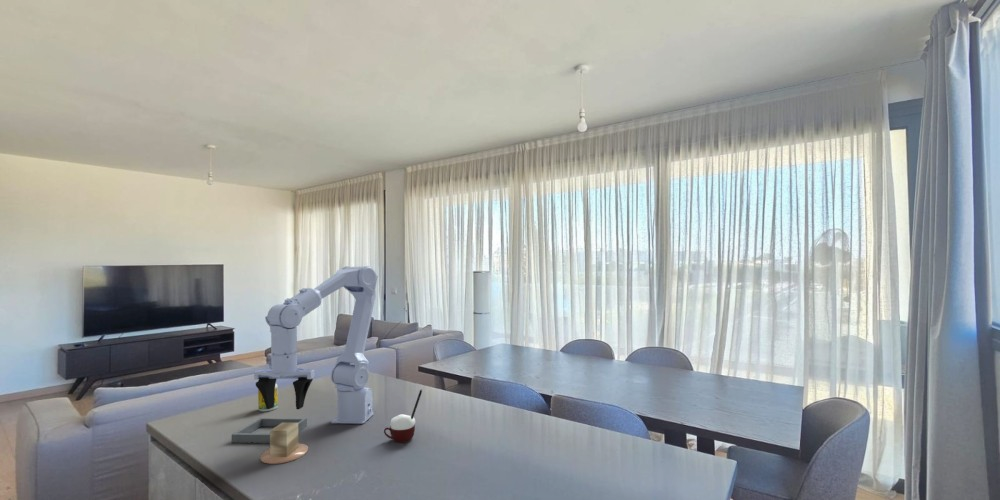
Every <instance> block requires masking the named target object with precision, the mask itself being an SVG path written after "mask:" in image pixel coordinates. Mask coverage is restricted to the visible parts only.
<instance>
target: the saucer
mask: <svg viewBox="0 0 1000 500" xmlns="http://www.w3.org/2000/svg"><path fill="white" fill-rule="evenodd" d="M308 450H309V447H308V446H307V445H306V444H304V443H299V442H298V448H297V449H296V450H295V451H294V452H292V453H291V454H290V455H289V456H288V457H270V448H269V449H266V450H265V451H264V452H262V453H261V455H260V461H261V462H262V463H263V462H264V463H263V464H266V463H267V464H266V465H279V464H280V465H281V464H285V463H290V462H293V461H296V460H298V459H300V458H302V457H304V456H306V455H307V453H308V452H309V451H308Z"/></svg>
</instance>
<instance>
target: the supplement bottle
mask: <svg viewBox="0 0 1000 500" xmlns="http://www.w3.org/2000/svg"><path fill="white" fill-rule="evenodd" d="M278 388H279V386H278V384H277V383H276V384H275V391H274V407H272V408H270V409H266V405H265V402H264V399H263V396H262V394H261V392H260V391H259V389H258V388H257V391H258V392H257V395H258V396H257V397H258V400H257V401H258V411H260V412H263V413H264V412H270V411H274V410H276V409H278V407H279V400H278V396H279V393H278V392H279V391H278V390H279V389H278Z"/></svg>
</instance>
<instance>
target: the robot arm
mask: <svg viewBox="0 0 1000 500" xmlns="http://www.w3.org/2000/svg"><path fill="white" fill-rule="evenodd" d="M377 281H378V275H377V273H376V271H375V269H374V268H373V267H372V266H370V265H366V266H348V265H346V266H343V267H342V268H341V269H338V270H336V272H335V273H334V274H332V275H331V276H330V277H329V278H327V279H326V280H324V281H323V282H321V283H320V284H318V286H316V287H315V288H311V287H307V288H305V287H303V288H301V289H299V290H298V291H299V293H297V294H295V295H293V296H292V297H290V298H286V299H284V302H283V304H282V303H281V304H278V303H277V304H274V305H272V306H271V307H270V308H269V311H267V315H266V316H265V317H264V318H265V322H266V324H267V325H268V326H269V329H270V330H269V332H270V338H271V340H270V343H271V344H270V348H271V351H270V352H271V353H270V355H271V358H270V359H271V368H268V369H258V370H255V371H253V374H254V375H253V376H254V377H253V378H254V379H253V380H258V381H256V382H255V387H256V388H257V390H258V389H259V391H260V392H261V394H262V396H263V399H264V402H265V405H266V409H270V408H272V407H274V391H275V384H277V380H278V379H279V380H281V379H284V380H285V379H291V380H292V379H293V380H294V379H296V380H294V381H292V385H293V389H294V392H295V393H294V394H295V407H296V408H295V409H296V410H300V409H302V408H303V407H304V405H305V400H306V396H307V394H308V391H309V388H310V386H311V384H312V382H313V380H314V378H315V377H316V373H315V369H310V368H301V367H298V338H297V337H298V336H297V335H298V334H297V333H298V332H297V331H298V329H297V327H298V326H300V324H301V323H302V321H303V318H304V317H305V316H306V315H308V314H310V313H311V312H312V311H314V310H315V309H317V308H319V307H320V306H321V305H322V301H323V299H324V298H326V297H328V296H329V295H331V294H333V293H334V292H337V291H338V290H340V289H341V288H344V289H345V290H347V291H348V293H350V294H351V295H352V296H353V298H354V299H355V301H354V307H353V312H352V314H351V315H352V316H351V318H350V319H351V320H350V325H349V329H348V334H347V339H346V343H345V348H344V352H343V353H342V354H341V355H340V356H338V357H337V358H336V361H335V364H334V366H333V367H332V369H331V373H330V379H331V382H332V383H333V384H334V385H335V386H334V387H335V389H336V417H335V418H334V419H333V420H331V421H330V422H331V424H356V425H357V424H364V423H366V422H367V420H369V419H370V418H371V417H372V416H373V415H374V414H375V413H374V411H373V406H374V405H373V403H374V402H373V399H374V397H373V389H372V388H370V387H366V385H367V384H368V381H369V378H370V372H369V366H370V362H369V360H368V359H367V358H366V356H365V355H364V354H365V351H366V350H365V349H366V345H367V340H368V339H367V338H368V335H369V330H370V325H371V321H372V315H373V313H374V306H375V303H376V302H375V300H376V295H377V294H376V287H377V284H378V283H377Z"/></svg>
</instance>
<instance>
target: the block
mask: <svg viewBox="0 0 1000 500" xmlns="http://www.w3.org/2000/svg"><path fill="white" fill-rule="evenodd" d="M269 434H270V443H269V449H270V457H288V456H289V455H290V454H291V453H292V452H294V451H295V450H296V449H297V448H298V443H299V432H298V423H281V424H279V425H278V426H274V427H273V428H271V429H270V430H269Z"/></svg>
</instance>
